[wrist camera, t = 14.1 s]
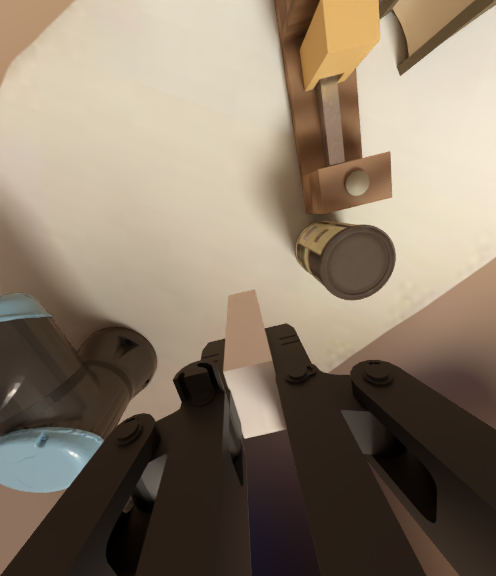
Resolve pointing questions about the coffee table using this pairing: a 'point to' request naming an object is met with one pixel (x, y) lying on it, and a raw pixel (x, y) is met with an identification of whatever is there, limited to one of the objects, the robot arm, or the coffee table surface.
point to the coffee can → (346, 257)
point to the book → (431, 22)
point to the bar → (330, 120)
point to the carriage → (338, 39)
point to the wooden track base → (305, 115)
